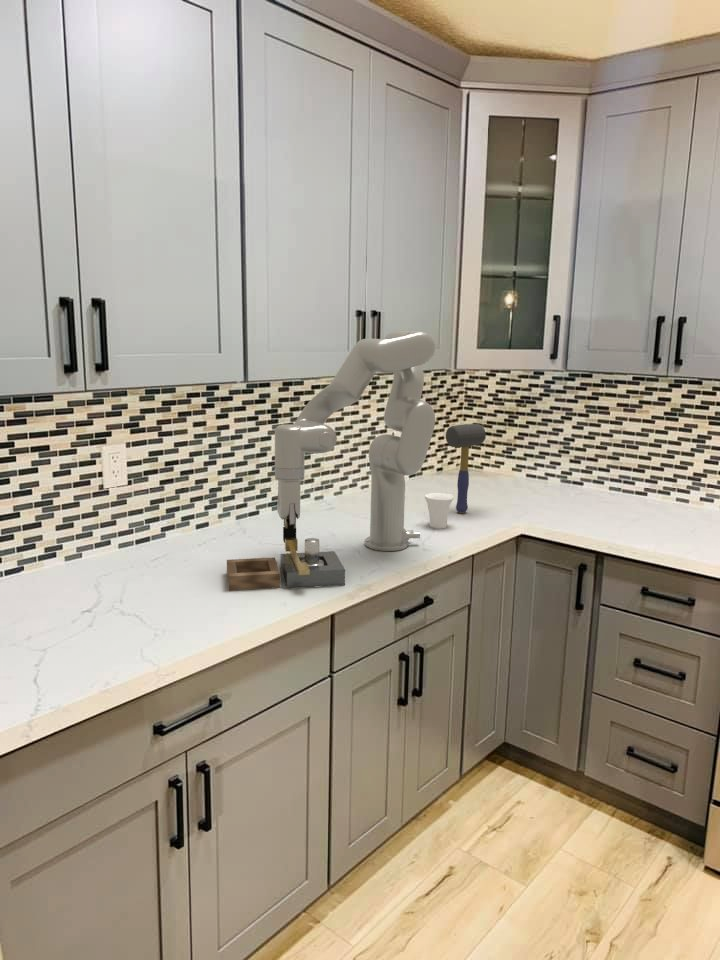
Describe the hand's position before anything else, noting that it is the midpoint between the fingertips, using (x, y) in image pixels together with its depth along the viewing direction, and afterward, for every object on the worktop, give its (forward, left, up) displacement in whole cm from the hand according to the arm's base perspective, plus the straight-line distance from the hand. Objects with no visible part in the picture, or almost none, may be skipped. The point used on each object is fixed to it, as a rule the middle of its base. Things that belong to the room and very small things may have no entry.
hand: (289, 541), depth 186 cm
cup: (-50, -27, -6) cm, 57 cm away
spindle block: (-4, +11, -6) cm, 13 cm away
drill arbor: (-4, +11, -6) cm, 13 cm away
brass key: (0, +12, -1) cm, 12 cm away
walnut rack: (+10, +11, -6) cm, 16 cm away
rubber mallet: (-63, -41, -6) cm, 75 cm away
